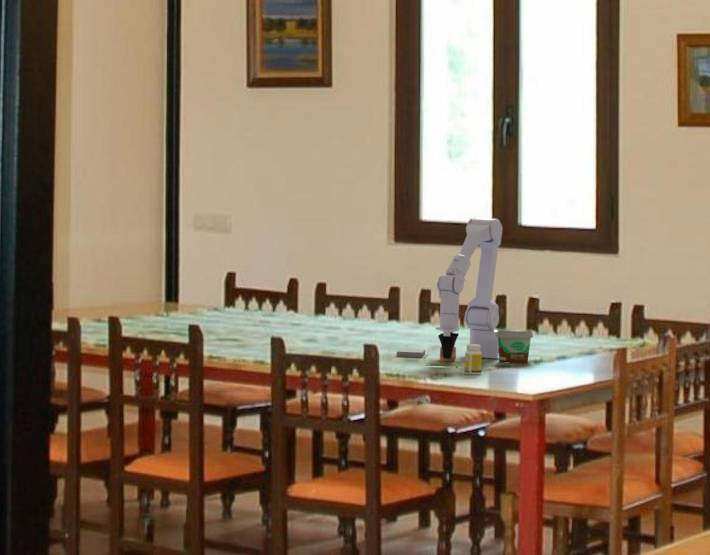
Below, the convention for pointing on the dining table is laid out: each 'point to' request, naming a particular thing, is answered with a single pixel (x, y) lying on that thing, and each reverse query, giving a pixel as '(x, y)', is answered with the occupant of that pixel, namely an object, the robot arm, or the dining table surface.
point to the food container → (514, 346)
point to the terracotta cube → (453, 356)
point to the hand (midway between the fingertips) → (447, 357)
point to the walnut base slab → (413, 357)
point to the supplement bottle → (473, 359)
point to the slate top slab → (411, 352)
